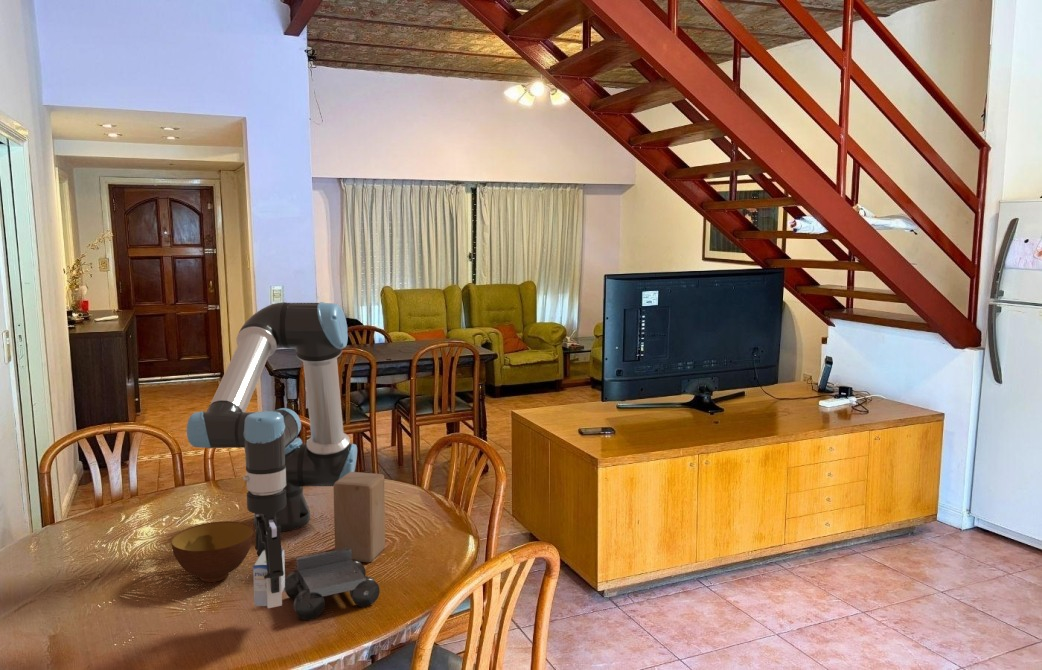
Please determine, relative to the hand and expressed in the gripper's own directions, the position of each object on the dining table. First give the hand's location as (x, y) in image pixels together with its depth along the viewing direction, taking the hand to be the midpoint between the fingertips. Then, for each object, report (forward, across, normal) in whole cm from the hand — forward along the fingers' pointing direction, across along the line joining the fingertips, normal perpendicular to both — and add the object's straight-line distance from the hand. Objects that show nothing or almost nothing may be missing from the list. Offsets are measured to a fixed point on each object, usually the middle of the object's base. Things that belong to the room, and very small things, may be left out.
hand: (270, 596), depth 152 cm
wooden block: (+7, -26, +27) cm, 38 cm away
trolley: (+7, -5, +14) cm, 16 cm away
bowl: (+7, -30, -7) cm, 32 cm away
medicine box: (0, 0, 0) cm, 0 cm away
